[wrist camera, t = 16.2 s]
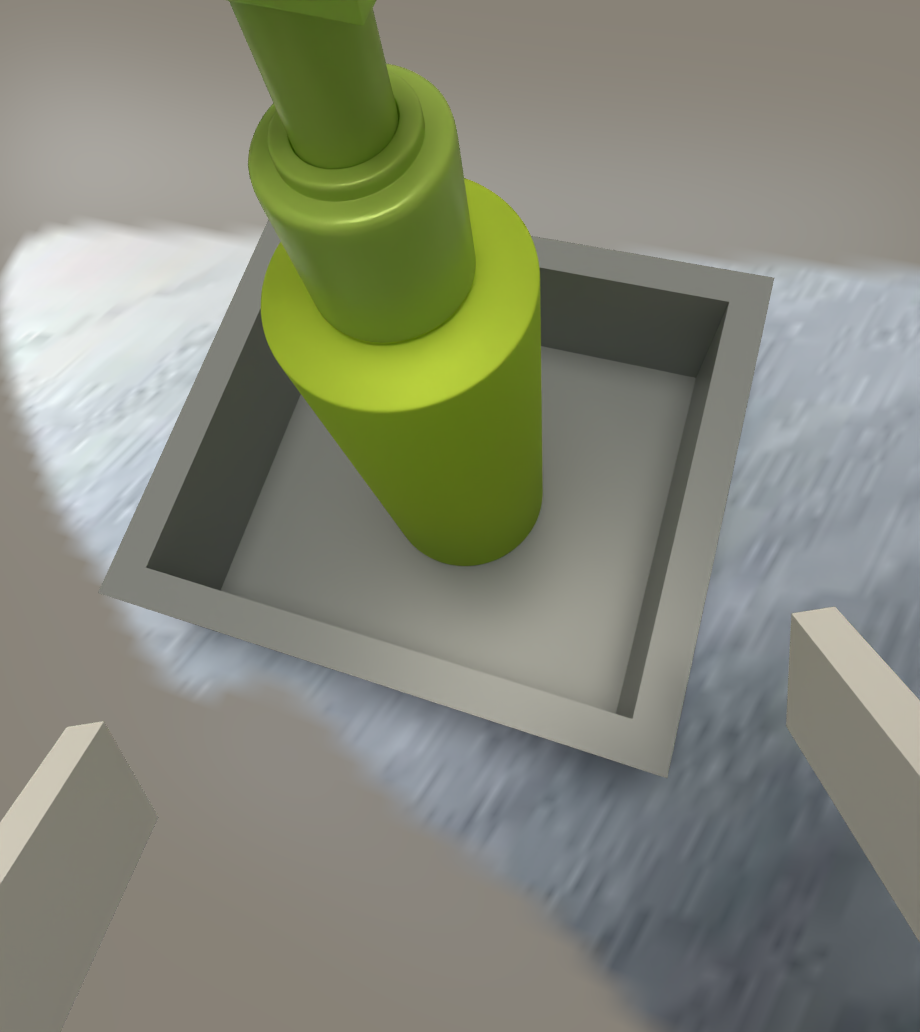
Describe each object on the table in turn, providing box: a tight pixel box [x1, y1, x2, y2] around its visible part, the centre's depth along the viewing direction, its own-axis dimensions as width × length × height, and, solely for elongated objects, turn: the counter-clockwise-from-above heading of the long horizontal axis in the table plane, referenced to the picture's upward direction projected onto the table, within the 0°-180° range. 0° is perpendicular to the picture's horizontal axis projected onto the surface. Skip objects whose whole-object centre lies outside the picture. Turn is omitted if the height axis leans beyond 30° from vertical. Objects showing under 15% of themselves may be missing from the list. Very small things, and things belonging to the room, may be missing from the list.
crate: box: [98, 220, 774, 778], centre depth 24 cm, size 18×16×6 cm
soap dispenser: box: [228, 0, 543, 566], centre depth 17 cm, size 6×7×20 cm
